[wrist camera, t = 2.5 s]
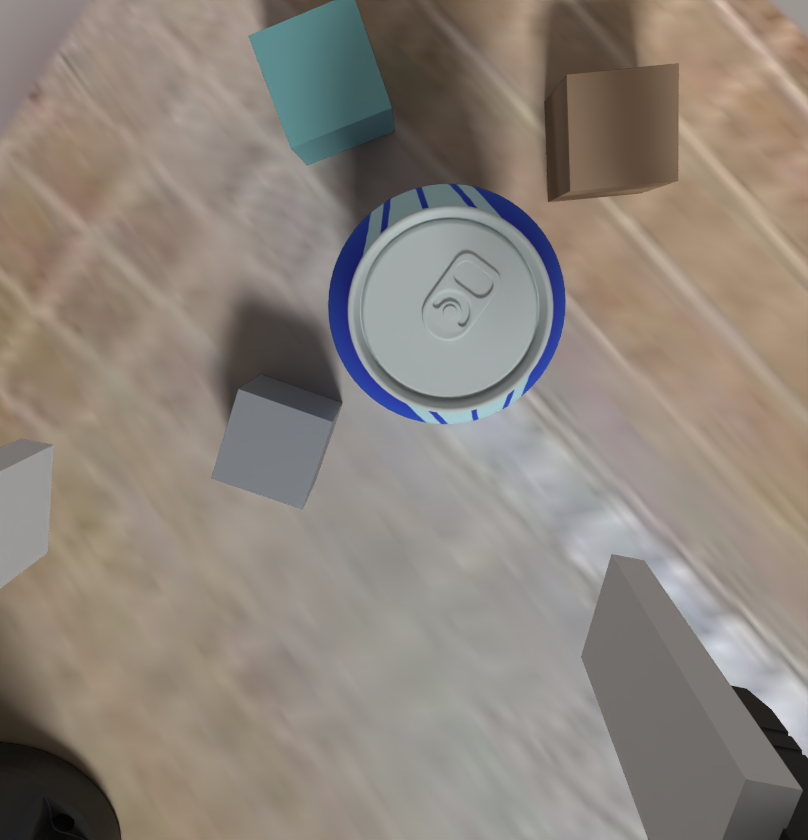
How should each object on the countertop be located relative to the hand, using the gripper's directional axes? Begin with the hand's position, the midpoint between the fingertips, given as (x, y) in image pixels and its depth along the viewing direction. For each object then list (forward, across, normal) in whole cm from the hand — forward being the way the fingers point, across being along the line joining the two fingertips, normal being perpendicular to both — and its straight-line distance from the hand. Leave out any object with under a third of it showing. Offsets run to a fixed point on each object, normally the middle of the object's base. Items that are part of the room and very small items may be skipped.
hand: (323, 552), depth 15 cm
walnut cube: (+24, +8, +14) cm, 29 cm away
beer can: (+23, +2, +5) cm, 24 cm away
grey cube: (+23, -5, -4) cm, 24 cm away
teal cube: (+23, -6, +14) cm, 28 cm away
